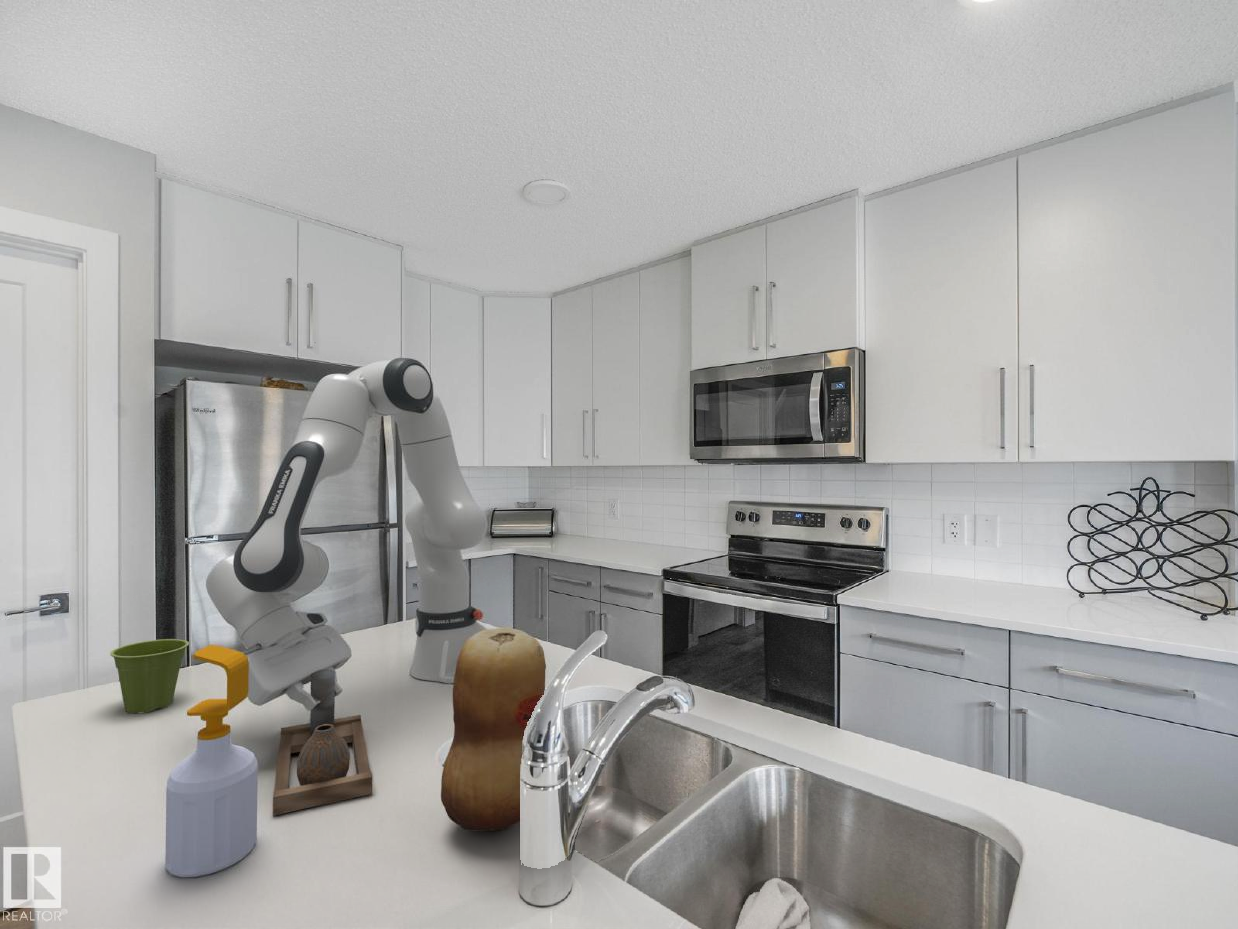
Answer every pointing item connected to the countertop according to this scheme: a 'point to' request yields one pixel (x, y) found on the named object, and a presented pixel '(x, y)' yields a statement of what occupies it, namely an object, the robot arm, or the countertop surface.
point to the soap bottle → (213, 784)
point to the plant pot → (149, 673)
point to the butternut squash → (491, 727)
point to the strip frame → (297, 738)
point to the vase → (323, 757)
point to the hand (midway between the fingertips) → (326, 700)
